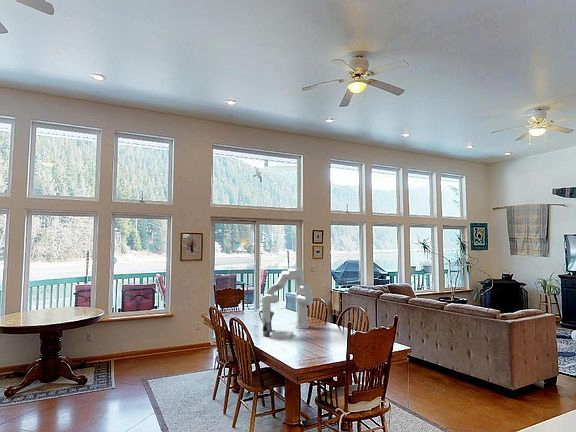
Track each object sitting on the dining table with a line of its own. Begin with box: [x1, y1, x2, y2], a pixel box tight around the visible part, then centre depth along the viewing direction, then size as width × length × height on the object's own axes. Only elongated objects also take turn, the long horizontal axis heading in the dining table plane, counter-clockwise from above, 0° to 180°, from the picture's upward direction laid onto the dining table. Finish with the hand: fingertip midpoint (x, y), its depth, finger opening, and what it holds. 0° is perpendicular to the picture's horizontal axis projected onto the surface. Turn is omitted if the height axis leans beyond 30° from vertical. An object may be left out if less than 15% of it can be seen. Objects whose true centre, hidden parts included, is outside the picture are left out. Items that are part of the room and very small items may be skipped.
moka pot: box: [258, 310, 275, 332], centre depth 356 cm, size 10×15×20 cm, turn 78°
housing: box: [270, 329, 294, 340], centre depth 333 cm, size 16×16×3 cm
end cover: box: [262, 322, 271, 337], centre depth 335 cm, size 6×6×11 cm
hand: (266, 330), depth 335 cm, fingers open, 6 cm apart
